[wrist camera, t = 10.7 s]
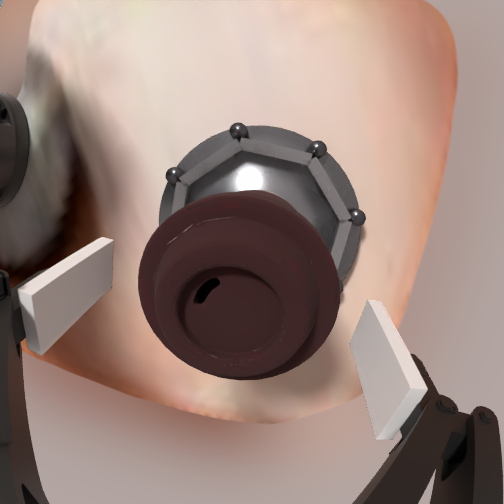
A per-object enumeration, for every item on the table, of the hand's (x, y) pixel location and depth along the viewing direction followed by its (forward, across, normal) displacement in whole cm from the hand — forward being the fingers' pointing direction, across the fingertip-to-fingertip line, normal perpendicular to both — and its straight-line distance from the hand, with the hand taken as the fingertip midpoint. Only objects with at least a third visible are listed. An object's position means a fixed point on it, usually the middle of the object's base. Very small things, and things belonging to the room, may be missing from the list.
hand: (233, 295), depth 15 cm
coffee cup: (+13, 0, 0) cm, 13 cm away
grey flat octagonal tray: (+14, 0, 0) cm, 14 cm away
